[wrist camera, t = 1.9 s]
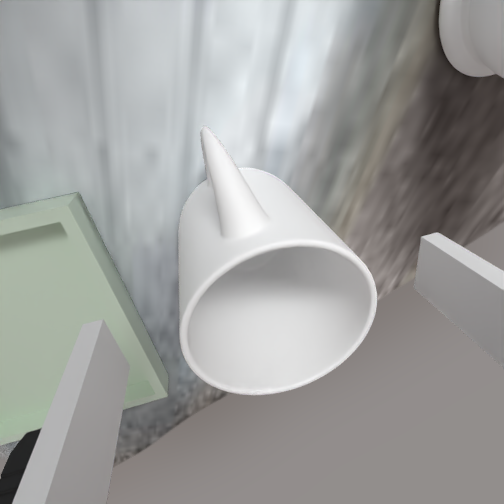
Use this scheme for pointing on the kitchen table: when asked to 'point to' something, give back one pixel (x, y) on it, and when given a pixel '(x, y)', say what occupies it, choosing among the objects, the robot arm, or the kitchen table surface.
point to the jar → (473, 35)
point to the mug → (264, 283)
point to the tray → (60, 310)
